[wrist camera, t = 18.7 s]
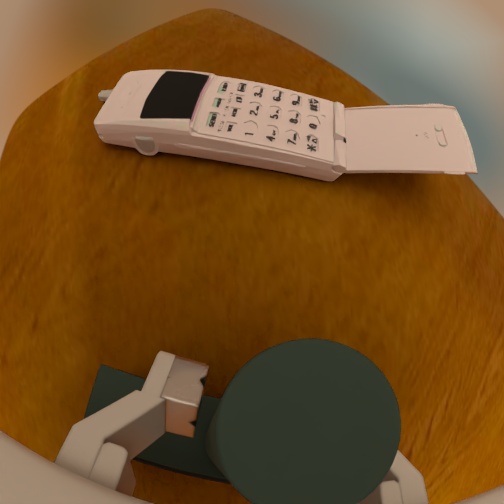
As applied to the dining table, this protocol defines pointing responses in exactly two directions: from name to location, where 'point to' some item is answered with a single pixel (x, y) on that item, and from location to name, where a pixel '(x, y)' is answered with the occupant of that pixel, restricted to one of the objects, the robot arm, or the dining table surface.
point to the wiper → (283, 426)
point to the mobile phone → (279, 127)
